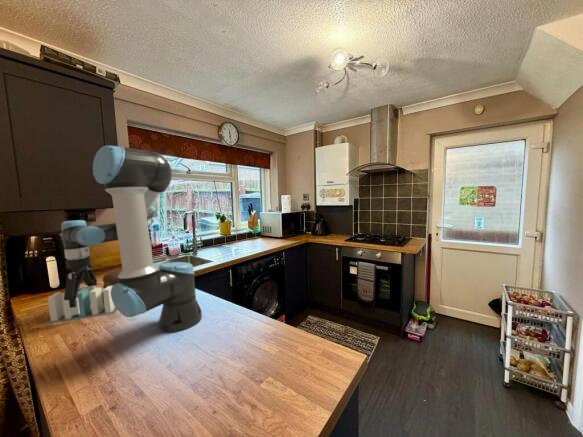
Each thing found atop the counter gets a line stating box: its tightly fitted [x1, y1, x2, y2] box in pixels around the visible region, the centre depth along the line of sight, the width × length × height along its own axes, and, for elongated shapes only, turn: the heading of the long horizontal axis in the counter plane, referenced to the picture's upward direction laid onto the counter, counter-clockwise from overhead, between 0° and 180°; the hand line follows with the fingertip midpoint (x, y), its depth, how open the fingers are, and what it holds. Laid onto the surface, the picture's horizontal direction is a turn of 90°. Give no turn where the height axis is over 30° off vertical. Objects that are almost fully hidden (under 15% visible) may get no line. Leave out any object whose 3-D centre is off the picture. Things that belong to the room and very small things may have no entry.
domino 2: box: [62, 294, 75, 319], centre depth 99 cm, size 2×5×10 cm, turn 18°
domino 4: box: [102, 286, 115, 313], centre depth 103 cm, size 2×5×10 cm, turn 18°
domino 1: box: [47, 291, 65, 321], centre depth 97 cm, size 2×5×10 cm, turn 18°
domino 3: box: [90, 286, 104, 315], centre depth 101 cm, size 2×5×10 cm, turn 17°
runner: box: [41, 306, 118, 326], centre depth 101 cm, size 24×9×1 cm, turn 108°
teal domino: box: [76, 289, 92, 317], centre depth 100 cm, size 2×5×10 cm, turn 17°
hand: (84, 307), depth 100 cm, fingers open, 12 cm apart
